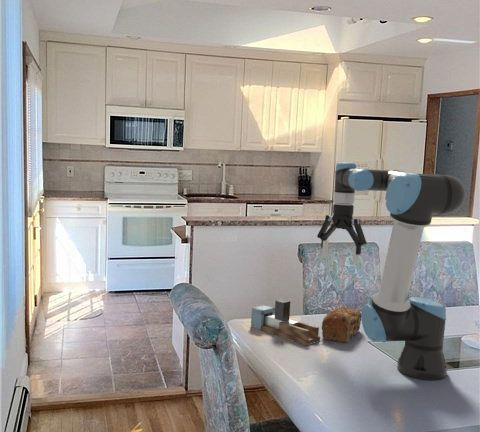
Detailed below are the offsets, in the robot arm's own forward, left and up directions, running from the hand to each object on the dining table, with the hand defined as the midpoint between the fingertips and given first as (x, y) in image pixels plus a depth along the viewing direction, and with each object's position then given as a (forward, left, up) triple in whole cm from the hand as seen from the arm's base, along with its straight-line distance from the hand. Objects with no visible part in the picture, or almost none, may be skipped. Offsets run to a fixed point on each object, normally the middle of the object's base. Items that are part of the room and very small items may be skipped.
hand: (339, 260), depth 211 cm
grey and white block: (+8, +20, -27) cm, 35 cm away
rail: (+5, +19, -29) cm, 35 cm away
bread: (-1, -2, -29) cm, 29 cm away
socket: (+15, +24, -29) cm, 40 cm away
